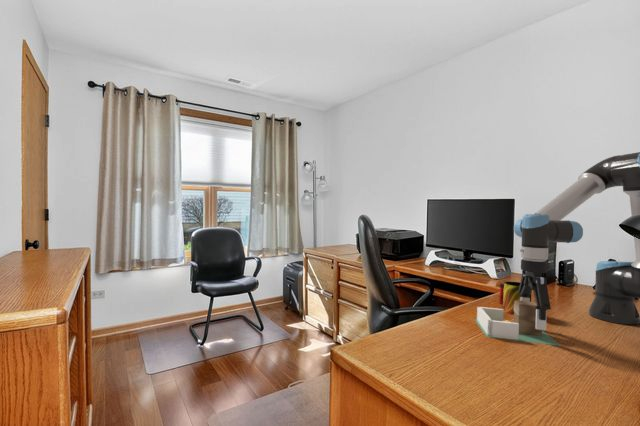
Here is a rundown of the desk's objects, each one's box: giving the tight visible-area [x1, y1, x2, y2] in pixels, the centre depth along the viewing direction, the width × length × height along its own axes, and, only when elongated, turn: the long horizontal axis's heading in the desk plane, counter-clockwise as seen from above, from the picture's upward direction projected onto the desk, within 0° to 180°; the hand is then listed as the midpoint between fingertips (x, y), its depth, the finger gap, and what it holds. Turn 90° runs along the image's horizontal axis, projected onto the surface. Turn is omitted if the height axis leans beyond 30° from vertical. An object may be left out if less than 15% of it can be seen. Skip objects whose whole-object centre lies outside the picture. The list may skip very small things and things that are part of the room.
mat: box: [474, 318, 562, 347], centre depth 109 cm, size 21×18×1 cm
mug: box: [498, 281, 533, 316], centre depth 132 cm, size 10×14×12 cm
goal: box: [476, 306, 519, 341], centre depth 110 cm, size 9×16×5 cm, turn 165°
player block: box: [513, 300, 542, 336], centre depth 108 cm, size 7×5×10 cm, turn 75°
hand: (532, 322), depth 107 cm, fingers open, 13 cm apart
